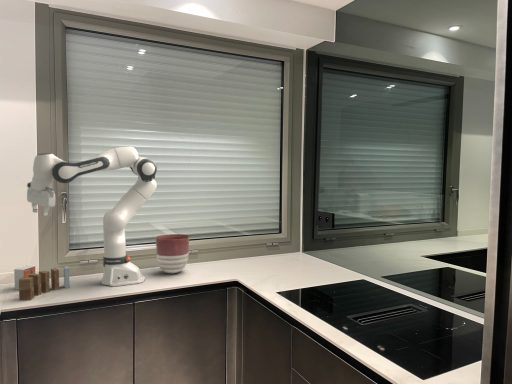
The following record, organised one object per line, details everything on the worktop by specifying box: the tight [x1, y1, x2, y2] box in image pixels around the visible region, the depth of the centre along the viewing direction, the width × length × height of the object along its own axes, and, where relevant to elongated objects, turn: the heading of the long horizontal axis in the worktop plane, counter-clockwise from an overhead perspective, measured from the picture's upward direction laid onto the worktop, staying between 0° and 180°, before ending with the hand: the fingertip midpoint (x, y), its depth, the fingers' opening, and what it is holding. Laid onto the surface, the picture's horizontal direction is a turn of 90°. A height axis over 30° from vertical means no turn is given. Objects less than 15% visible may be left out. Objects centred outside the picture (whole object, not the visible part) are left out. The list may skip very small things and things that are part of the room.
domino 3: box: [38, 270, 51, 294], centre depth 185 cm, size 2×5×10 cm, turn 64°
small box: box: [13, 265, 36, 291], centre depth 191 cm, size 8×6×10 cm
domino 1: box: [18, 277, 35, 301], centre depth 174 cm, size 3×5×10 cm, turn 96°
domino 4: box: [50, 267, 60, 291], centre depth 190 cm, size 2×5×10 cm, turn 48°
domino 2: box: [29, 273, 42, 297], centre depth 180 cm, size 2×5×10 cm, turn 81°
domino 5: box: [63, 265, 71, 289], centre depth 193 cm, size 2×5×10 cm, turn 33°
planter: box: [155, 233, 190, 274], centre depth 221 cm, size 20×20×21 cm
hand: (39, 213), depth 182 cm, fingers open, 8 cm apart
